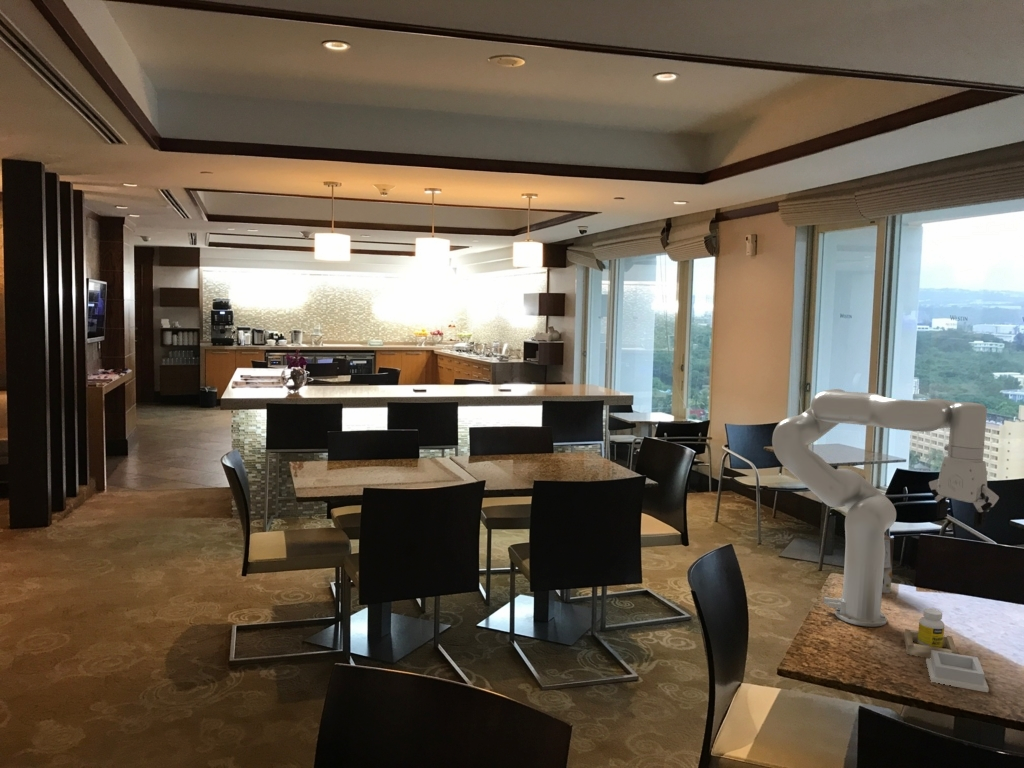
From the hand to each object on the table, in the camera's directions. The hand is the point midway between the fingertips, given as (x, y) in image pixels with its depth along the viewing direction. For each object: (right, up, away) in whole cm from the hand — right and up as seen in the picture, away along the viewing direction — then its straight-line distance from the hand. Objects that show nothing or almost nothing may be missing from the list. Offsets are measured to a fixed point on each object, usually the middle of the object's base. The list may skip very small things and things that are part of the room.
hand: (960, 522), depth 196 cm
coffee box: (-3, -27, +41) cm, 49 cm away
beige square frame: (-9, -30, -3) cm, 32 cm away
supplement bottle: (-9, -31, -3) cm, 32 cm away
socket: (-10, -32, -17) cm, 37 cm away
